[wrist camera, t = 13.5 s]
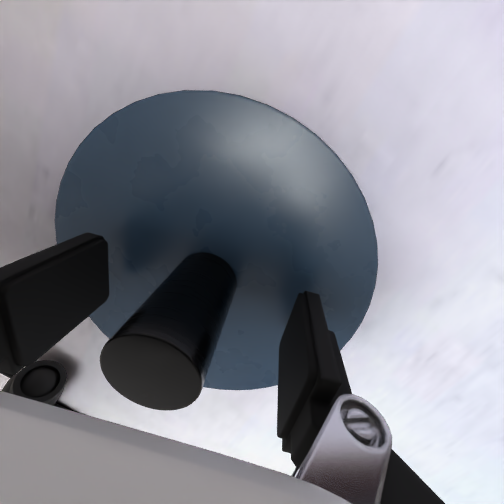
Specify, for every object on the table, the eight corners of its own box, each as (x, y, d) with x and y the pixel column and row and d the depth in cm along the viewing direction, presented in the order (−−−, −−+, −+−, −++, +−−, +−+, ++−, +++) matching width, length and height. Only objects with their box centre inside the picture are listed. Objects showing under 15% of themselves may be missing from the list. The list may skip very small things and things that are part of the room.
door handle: (210, 497, 16) (-30, 380, 12) (92, 549, 23) (-81, 486, 20) (220, 440, 19) (29, 334, 15) (112, 502, 26) (-34, 441, 23)
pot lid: (84, 337, 15) (-36, 448, 9) (58, 53, 9) (-328, -114, 3) (307, 399, 15) (322, 552, 9) (437, 150, 9) (725, 149, 3)
